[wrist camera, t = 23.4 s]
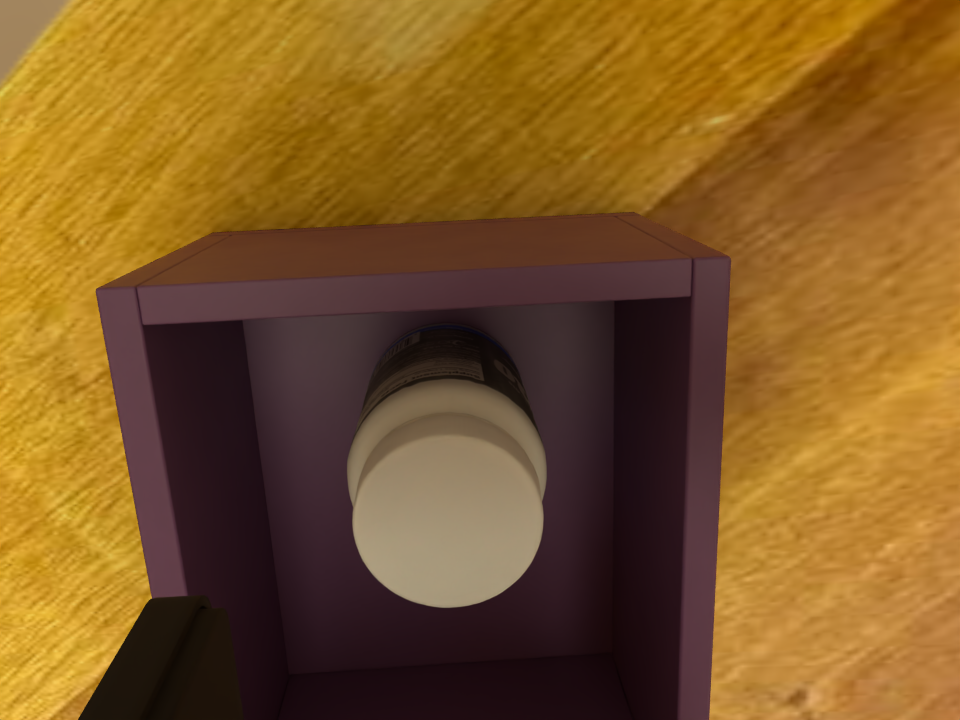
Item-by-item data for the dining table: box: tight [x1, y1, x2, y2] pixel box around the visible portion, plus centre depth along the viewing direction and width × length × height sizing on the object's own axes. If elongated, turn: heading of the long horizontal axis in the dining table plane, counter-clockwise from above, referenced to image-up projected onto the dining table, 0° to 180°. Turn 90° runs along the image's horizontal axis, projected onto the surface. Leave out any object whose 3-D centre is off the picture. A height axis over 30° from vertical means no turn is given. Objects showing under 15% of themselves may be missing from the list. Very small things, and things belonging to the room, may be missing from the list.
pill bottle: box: [347, 323, 547, 608], centre depth 20 cm, size 5×5×8 cm
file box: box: [96, 212, 731, 720], centre depth 22 cm, size 16×13×8 cm
